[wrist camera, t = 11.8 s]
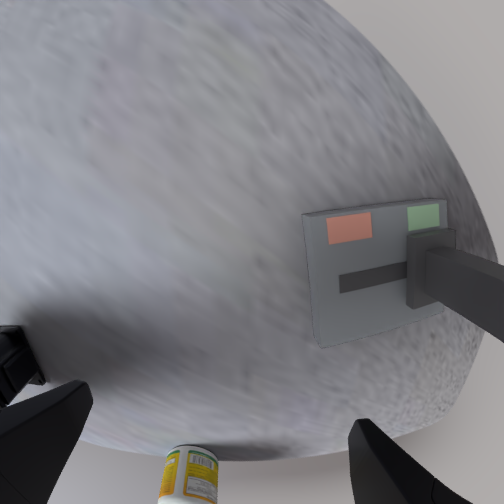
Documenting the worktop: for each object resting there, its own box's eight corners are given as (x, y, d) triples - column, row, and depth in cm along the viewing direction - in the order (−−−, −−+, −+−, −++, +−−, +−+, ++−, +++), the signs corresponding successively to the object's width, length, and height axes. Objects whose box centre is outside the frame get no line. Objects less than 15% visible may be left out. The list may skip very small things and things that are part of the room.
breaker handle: (405, 304, 18) (508, 382, 7) (406, 235, 16) (536, 281, 6) (444, 292, 18) (544, 351, 7) (446, 228, 17) (565, 261, 6)
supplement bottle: (211, 443, 22) (208, 524, 13) (223, 469, 23) (223, 540, 14) (160, 443, 22) (144, 519, 13) (176, 470, 23) (167, 537, 14)
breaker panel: (313, 335, 20) (321, 349, 18) (301, 214, 18) (310, 217, 16) (430, 303, 20) (444, 312, 18) (430, 198, 19) (447, 199, 16)
